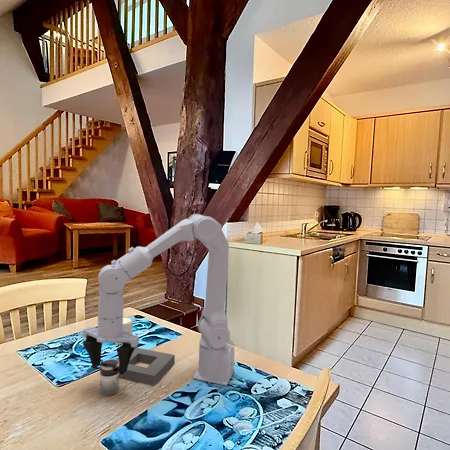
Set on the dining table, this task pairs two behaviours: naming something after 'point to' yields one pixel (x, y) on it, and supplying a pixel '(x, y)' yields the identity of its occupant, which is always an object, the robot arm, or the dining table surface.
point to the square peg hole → (154, 371)
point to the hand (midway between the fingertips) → (109, 369)
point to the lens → (109, 377)
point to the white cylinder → (127, 325)
